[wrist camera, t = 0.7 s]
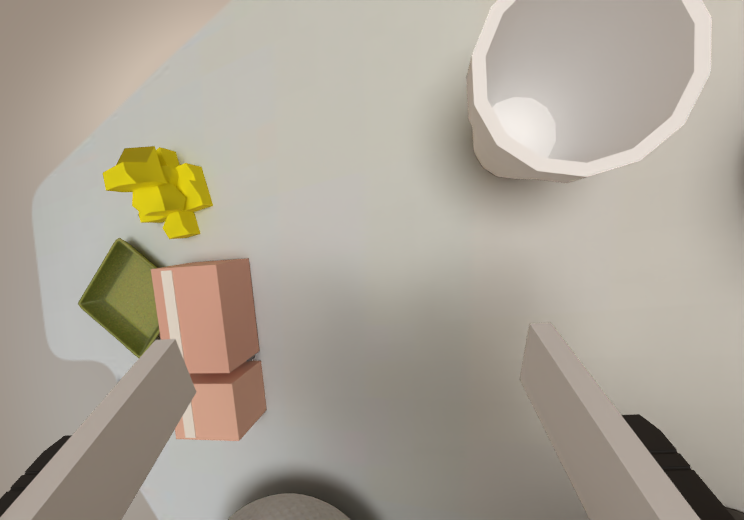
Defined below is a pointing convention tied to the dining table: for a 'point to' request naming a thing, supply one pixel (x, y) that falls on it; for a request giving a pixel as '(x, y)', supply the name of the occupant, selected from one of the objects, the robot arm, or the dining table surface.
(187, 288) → the pink striped box
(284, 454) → the dining table surface
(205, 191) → the yellow faceted figurine
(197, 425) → the pink box
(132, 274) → the green square tray
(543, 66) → the foam cup
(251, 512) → the cereal bowl
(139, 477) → the robot arm
